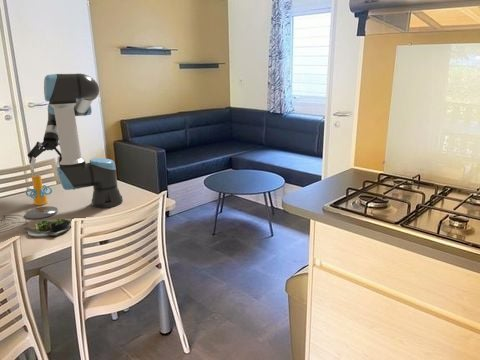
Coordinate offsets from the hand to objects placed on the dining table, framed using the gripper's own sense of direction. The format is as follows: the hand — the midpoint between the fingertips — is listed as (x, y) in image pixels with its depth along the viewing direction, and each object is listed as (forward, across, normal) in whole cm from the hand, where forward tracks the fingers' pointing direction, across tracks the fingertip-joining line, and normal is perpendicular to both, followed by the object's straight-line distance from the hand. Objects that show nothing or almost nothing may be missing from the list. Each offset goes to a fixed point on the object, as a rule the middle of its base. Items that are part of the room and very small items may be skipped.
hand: (44, 168), depth 203 cm
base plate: (+28, -7, +6) cm, 30 cm away
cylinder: (+19, 0, -4) cm, 19 cm away
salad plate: (+42, -20, +19) cm, 51 cm away
